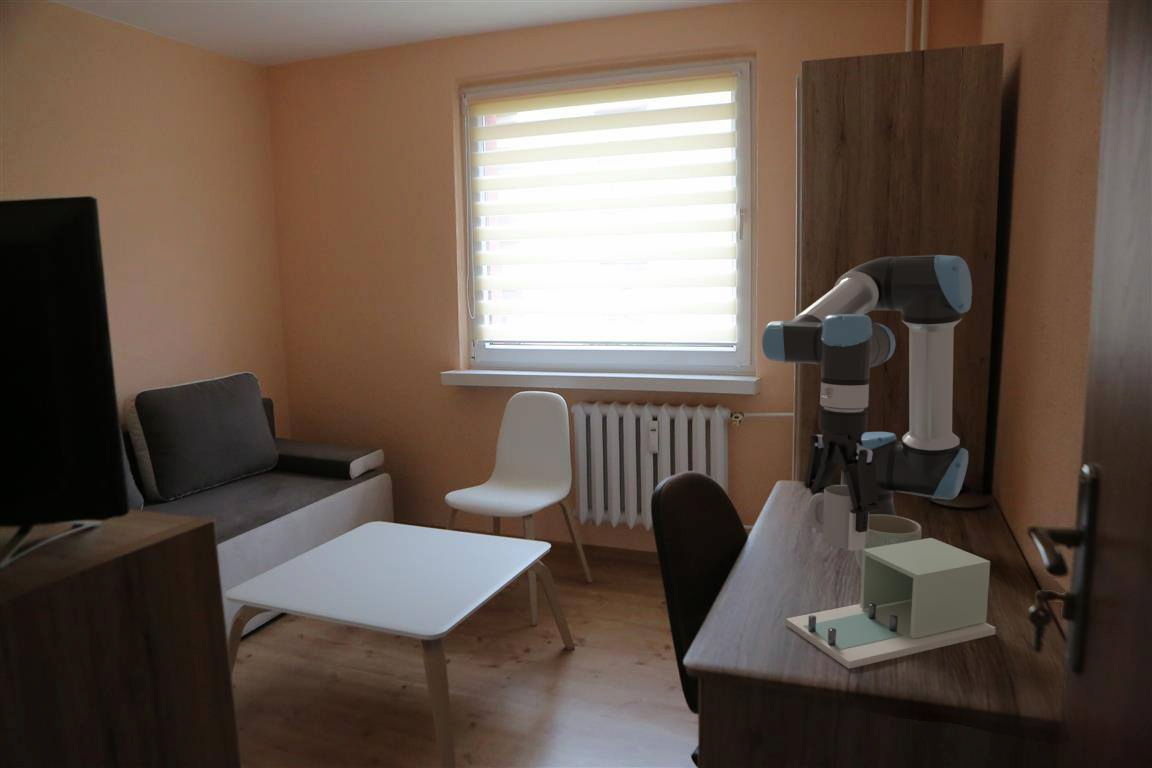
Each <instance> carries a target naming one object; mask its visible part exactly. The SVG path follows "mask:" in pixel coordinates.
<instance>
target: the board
mask: <svg viewBox="0 0 1152 768" xmlns="http://www.w3.org/2000/svg"><path fill="white" fill-rule="evenodd" d="M868 611H869V608H866V609H862V608H860V603H858V604H853V605H847V606H842V607H837V608H833V609H828V610H823V611H822V610H821V611H817V612H813V613H807V614H803V615H797V616H793V617H787V618H785V626H786V627H787V628H789V629H790V630H792V631H793V632H795V633H796V634H797V635H799V636H801V637H802V638H803V639H805V640H806V641H808V642H809V643H811V644H812V645H813V646H816V648H818V649H819V650H821V651H822V652H824V653H825V654H827V656H829V657H831V658H832V659H834V660H835V661H837V662H838V663H840V664H841V665H843V666H844V667H845V668H847V669H854V668H859V667H863V666H866V665H871V664H875V663H876V664H877V663H880V662H883V661H887V660H888V661H889V660H892V659H897V658H900V657H901V658H902V657H905V656H909V655H913V654H918V653H922V652H925V651H931V650H934V649H939V648H942V647H947V646H951V645H955V644H960V643H964V642H968V641H972V640H977V639H981V638H986V637H989V636H994V635H996V626H994V625H993V626H992V624H990V623H987V622H984V623H979V624H975V625H970V626H966V627H962V628H957V629H953V630H948V631H944V632H940V633H935V634H931V635H926V636H922V637H918V638H912V637H911V636H910V630H911V611H912V599H911V600H906V601H901V602H896V603H891V604H886V605H881V606H876V619H869V618H868ZM810 615H813V616H816V631H815V632H813V633H811V632H809V631H808V621H809V616H810ZM890 615H895V616H897V617H898V623H897V632H892V631H890V630H889V626H890ZM829 628H834V629H836V645H834V646H830V645H828V629H829Z"/></svg>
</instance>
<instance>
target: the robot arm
mask: <svg viewBox="0 0 1152 768" xmlns="http://www.w3.org/2000/svg"><path fill="white" fill-rule="evenodd" d="M972 296H973V285H972V277H971V273H970V269H969V266H968V264H967V262H966V261H965V259H964V258H962V257H960V256H958V255H945V254H944V255H943V254H929V255H926V254H925V255H907V256H906V255H904V256H903V255H902V256H901V255H900V256H884V257H879V258H875V259H872V260H869V261H867V262H864V263H861V264H859V265H858V266H855V267H853V268H852V269H850V270H848V271H847V272H845V273H844V274H842V275H841V276H840V277H839V278H838V279H837V280H836V282H835V284H834V285H833V288H832V289H831V290H829V291H828V292H827V293H826V294H824V295H822V296H821V297H819V299H817V300H816V301H815V302H814V303H812V304H811V305H810V306H808V307H807V308H806V309H805V310H803V311H802V312H800V313H799V314H797V315H796V316H795V317H794V318H793V319H791V320H789V321H787V320H782V319H781V320H778V321H777V320H776V321H775V320H774V321H770V322H769V323H767V325H766V326H765V327H764V330H763V334H762V338H761V339H762V340H761V345H762V351H763V354H764V356H765V357H766V358H767V359H768V360H770V361H775V362H782V363H783V364H785V363H793V364H794V363H796V364H813V365H821V366H820V367H821V368H820V397H819V399H820V400H819V404H820V406H822V408H820V410H819V412H818V413H819V415H818V428H819V430H820V432H822V434H811V435H810V452H809V457H808V463H807V468H806V473H805V480H804V487H805V489H809V490H810V493H811V495H812V496H814V495H815V494H817V493H824V488H825V487H828V486H831V485H830V484H831V482H832V479H833V476H834V474H835V472H836V469H837V467H838V465H839V467H840V470H841V471H840V473H841V474H840V475H841V476H840V485H848V489H849V493H850V497H851V501H852V505H853V510H850V515H849V538H848V549H847V550H848V551H850V552H854V551H855V550H862V549H865V532H866V531H867V529H868V526H867V525H868V513H869V515H871V514H884V515H893V516H898V515H897V510H896V508H895V503H894V492H897V493H903V494H908V495H914V496H920V497H926V498H931V499H933V500H934V499H943V500H953V499H954V498H956V497H957V496H959V493H960V491H961V490H962V487H963V483H964V481H965V477H966V473H967V469H968V464H969V451H968V450H967V449H965V448H964V447H960V438H959V437H958V436H957V435H956V434H955V433H954V432H953V394H954V391H953V390H954V389H953V388H954V387H953V386H954V384H953V383H954V339H955V338H954V336H955V335H954V331H955V329H954V328H955V326H957V324H958V323H960V322H961V321H962V319H963V314H964V313H966V312H968V311H969V310H970V309H971V307H972V306H971V305H972V301H973V300H972ZM872 311H890V312H891V311H892V312H893V311H894V312H901V322H902V323H903V324H904V325H905V326H907V328H908V329H909V330H908V331H909V335H908V336H909V337H908V338H909V339H908V340H909V347H908V349H909V351H908V352H909V353H908V357H909V359H908V360H909V362H908V365H909V369H908V370H909V371H908V372H909V373H908V374H909V375H908V376H909V378H908V381H909V383H908V385H909V386H908V389H909V390H908V392H909V393H908V395H909V396H908V397H909V401H908V403H909V406H908V407H909V409H908V410H909V411H908V412H909V419H908V420H909V422H908V423H909V426H908V427H909V431H907V432H906V433H904V435H903V436H902V438H901V441H900V440H897V439H898V438H897V436H896V434H895V433H893V432H889V431H888V432H887V431H867V430H868V414H869V413H868V411H867V410H866V409H867V408H868V407H869V397H870V396H869V395H870V393H869V392H870V391H869V389H870V370H871V369H870V368H874V367H877V366H881V365H883V363H885V362H887V361H888V360H889V359H890V358H891V357H892V356H893V354H894V352H895V349H896V338H895V335H894V333H893V332H892V331H891V329H890V328H889V327H887V326H886V325H883V324H882V323H877V322H872V318H871V317H870V316H869V315H867V314H868V313H869V312H872ZM860 502H861V505H860ZM823 507H824V502H820V503H819V505H818V508H817V516H818V519H819V521H821V522H823ZM812 533H813V534H820V533H821V534H823V531H819V530H817V529H815V528H814V527H813V526H812Z"/></svg>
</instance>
